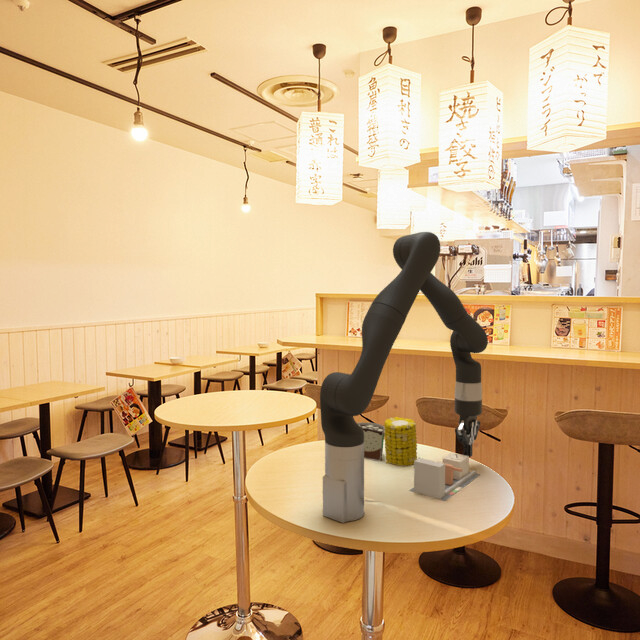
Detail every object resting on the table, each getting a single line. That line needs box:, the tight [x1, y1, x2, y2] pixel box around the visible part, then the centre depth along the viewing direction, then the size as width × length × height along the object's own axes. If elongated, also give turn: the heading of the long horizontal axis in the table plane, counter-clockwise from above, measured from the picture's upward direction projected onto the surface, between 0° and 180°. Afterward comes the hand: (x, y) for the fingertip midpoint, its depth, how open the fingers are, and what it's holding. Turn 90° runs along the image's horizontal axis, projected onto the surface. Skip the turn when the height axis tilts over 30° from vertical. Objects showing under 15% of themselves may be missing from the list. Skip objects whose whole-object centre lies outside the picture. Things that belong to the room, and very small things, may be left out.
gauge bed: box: [408, 457, 481, 502], centre depth 130 cm, size 22×10×10 cm, turn 140°
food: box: [383, 416, 418, 467], centre depth 147 cm, size 15×12×10 cm
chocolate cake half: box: [356, 422, 385, 462], centre depth 156 cm, size 12×6×10 cm, turn 58°
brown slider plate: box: [439, 461, 462, 485], centre depth 129 cm, size 1×7×5 cm, turn 50°
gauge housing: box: [442, 452, 470, 480], centre depth 134 cm, size 9×5×5 cm, turn 140°
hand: (467, 456), depth 141 cm, fingers closed
